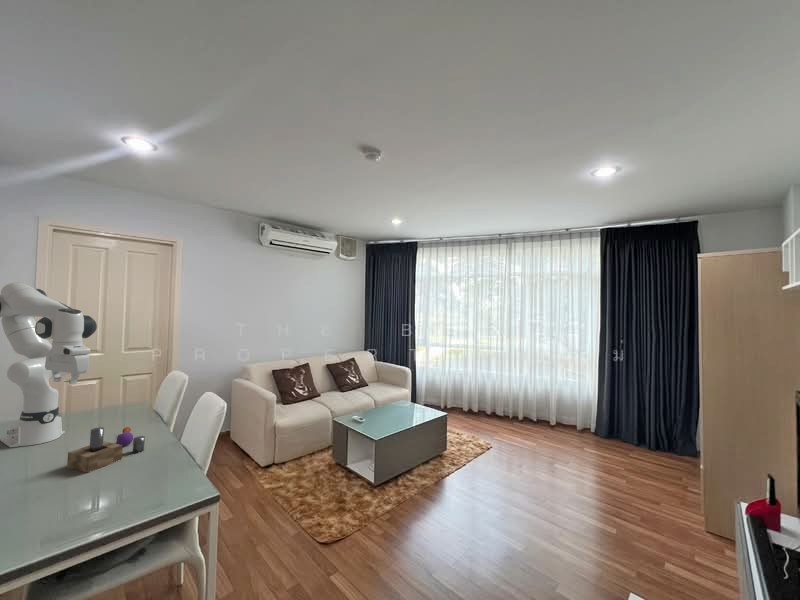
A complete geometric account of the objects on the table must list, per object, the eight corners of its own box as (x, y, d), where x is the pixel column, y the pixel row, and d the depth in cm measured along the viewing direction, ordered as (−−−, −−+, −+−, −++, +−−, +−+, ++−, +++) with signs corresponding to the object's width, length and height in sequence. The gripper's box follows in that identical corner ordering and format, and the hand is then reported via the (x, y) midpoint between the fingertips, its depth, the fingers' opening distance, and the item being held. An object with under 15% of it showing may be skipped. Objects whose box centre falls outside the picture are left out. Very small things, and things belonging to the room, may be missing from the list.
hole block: (66, 467, 129) (68, 452, 129) (102, 455, 141) (102, 441, 141) (87, 473, 126) (88, 457, 126) (121, 459, 137) (122, 445, 137)
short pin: (130, 452, 144) (131, 438, 144) (139, 448, 148) (140, 435, 148) (136, 453, 143) (137, 440, 143) (146, 450, 147) (147, 436, 147)
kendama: (135, 424, 167) (134, 433, 151) (132, 436, 166) (130, 447, 150) (121, 424, 163) (118, 434, 148) (117, 436, 162) (114, 447, 147)
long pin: (85, 464, 132) (88, 430, 132) (97, 460, 136) (99, 426, 136) (92, 466, 131) (95, 431, 131) (104, 462, 135) (106, 428, 135)
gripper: (40, 347, 132) (38, 381, 132) (74, 351, 126) (71, 387, 126) (60, 346, 138) (58, 378, 138) (93, 349, 132) (91, 383, 132)
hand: (64, 382), depth 132 cm, fingers open, 8 cm apart
